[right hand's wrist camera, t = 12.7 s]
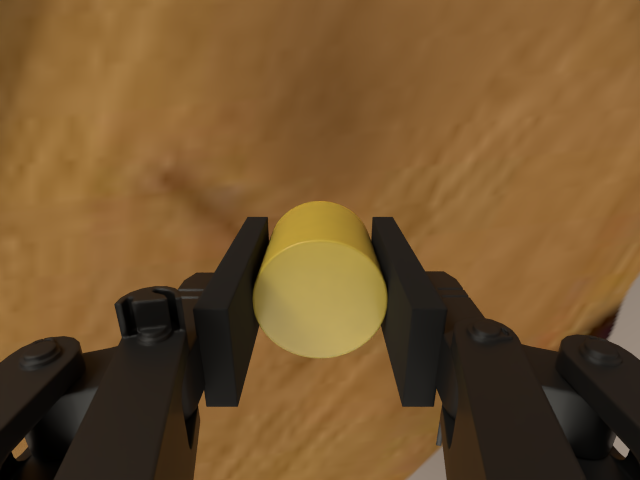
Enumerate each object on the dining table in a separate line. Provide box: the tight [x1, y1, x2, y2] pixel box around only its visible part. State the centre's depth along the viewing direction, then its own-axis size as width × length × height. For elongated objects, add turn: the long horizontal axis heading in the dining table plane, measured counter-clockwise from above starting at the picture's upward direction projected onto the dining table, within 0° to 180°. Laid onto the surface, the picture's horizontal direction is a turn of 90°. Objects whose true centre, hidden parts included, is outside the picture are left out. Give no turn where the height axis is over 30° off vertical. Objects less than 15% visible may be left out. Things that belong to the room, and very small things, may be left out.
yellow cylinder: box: [252, 201, 388, 358], centre depth 13 cm, size 4×4×4 cm
